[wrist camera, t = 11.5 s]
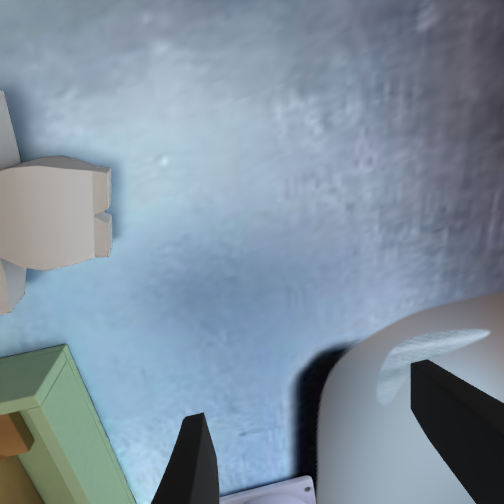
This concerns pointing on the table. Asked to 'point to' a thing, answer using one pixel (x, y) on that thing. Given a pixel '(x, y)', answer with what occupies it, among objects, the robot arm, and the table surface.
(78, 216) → the bunny figurine
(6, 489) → the spatula
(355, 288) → the table surface
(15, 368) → the bin
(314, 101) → the table surface
